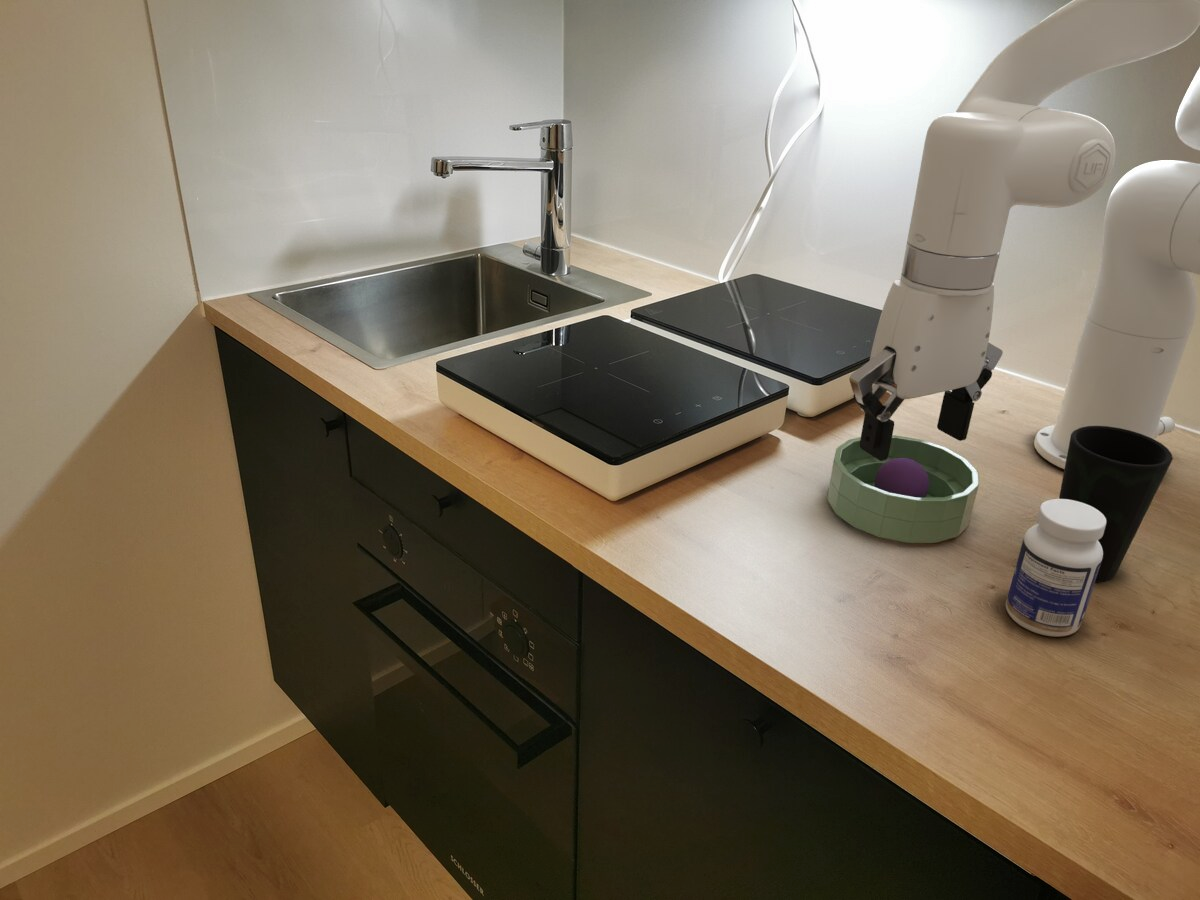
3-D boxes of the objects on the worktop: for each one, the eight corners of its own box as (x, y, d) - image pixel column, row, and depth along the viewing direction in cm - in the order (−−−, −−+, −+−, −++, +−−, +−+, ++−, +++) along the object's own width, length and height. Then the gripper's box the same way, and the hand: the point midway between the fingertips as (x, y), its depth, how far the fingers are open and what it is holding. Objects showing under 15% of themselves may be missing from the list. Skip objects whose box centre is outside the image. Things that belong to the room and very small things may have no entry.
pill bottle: (1031, 589, 78) (1062, 487, 73) (1094, 625, 74) (1131, 520, 69) (989, 609, 75) (1018, 505, 70) (1051, 648, 71) (1087, 540, 66)
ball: (898, 489, 92) (907, 445, 89) (934, 512, 88) (945, 467, 85) (859, 499, 90) (868, 454, 87) (895, 523, 86) (905, 477, 83)
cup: (1141, 595, 78) (1187, 471, 72) (1046, 582, 79) (1084, 459, 73) (1114, 547, 84) (1154, 430, 79) (1027, 535, 86) (1061, 420, 80)
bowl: (899, 468, 97) (908, 426, 95) (997, 529, 86) (1009, 483, 84) (800, 492, 91) (806, 448, 89) (891, 560, 81) (901, 512, 79)
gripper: (987, 246, 84) (950, 413, 92) (840, 266, 77) (814, 444, 85) (1055, 267, 78) (1009, 443, 86) (903, 291, 71) (868, 480, 79)
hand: (912, 444), depth 86 cm, fingers open, 9 cm apart
